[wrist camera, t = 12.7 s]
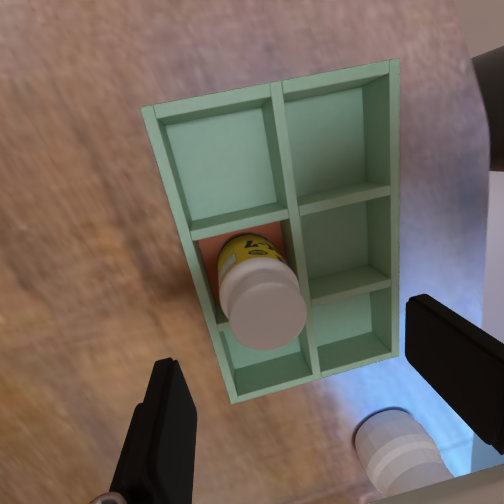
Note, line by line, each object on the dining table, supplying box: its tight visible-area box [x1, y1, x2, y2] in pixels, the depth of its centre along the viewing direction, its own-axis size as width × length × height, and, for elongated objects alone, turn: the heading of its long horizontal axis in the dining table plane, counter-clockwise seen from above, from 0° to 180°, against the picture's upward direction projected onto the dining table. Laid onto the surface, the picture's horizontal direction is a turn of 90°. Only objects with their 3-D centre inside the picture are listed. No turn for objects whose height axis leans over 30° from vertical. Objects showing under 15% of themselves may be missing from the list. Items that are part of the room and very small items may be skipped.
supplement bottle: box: [217, 233, 307, 351], centre depth 17 cm, size 5×5×8 cm
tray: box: [140, 58, 400, 404], centre depth 20 cm, size 15×22×4 cm
